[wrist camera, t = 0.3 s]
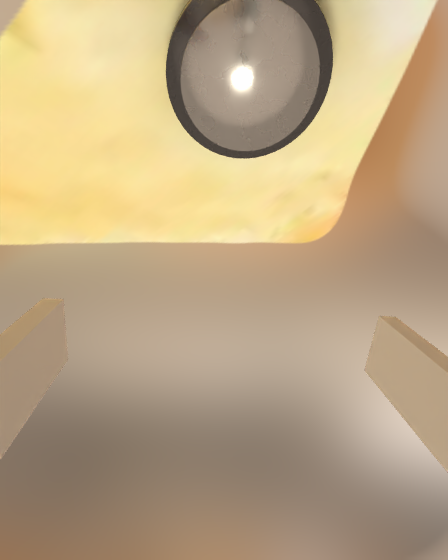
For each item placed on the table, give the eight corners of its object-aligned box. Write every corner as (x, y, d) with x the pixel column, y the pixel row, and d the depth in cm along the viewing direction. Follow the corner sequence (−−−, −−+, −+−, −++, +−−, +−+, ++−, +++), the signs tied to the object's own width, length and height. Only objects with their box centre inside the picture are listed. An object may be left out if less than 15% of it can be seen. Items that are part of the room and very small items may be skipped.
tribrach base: (136, 22, 33) (129, 37, 30) (302, -83, 28) (314, -79, 24) (210, 162, 45) (211, 183, 42) (335, 106, 40) (347, 125, 37)
